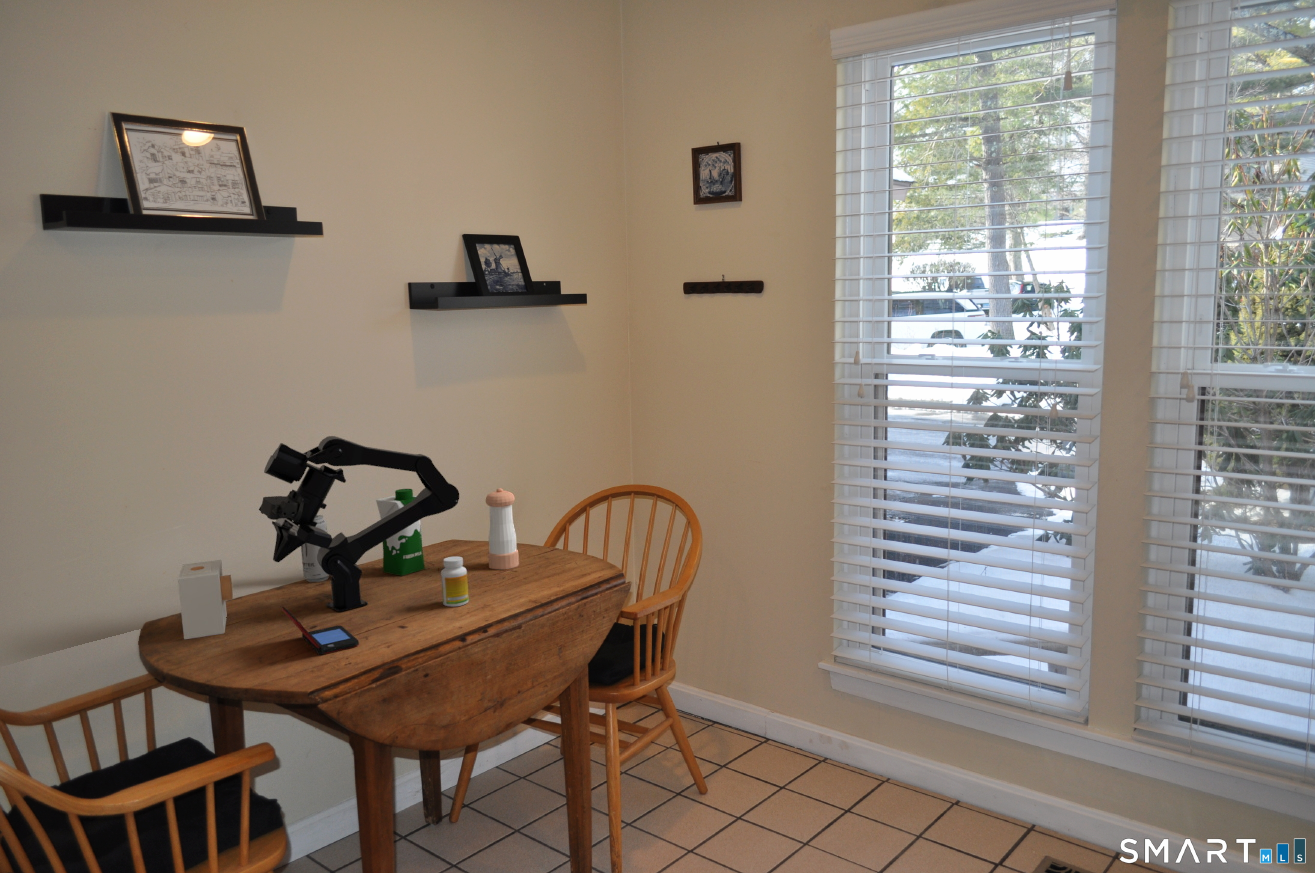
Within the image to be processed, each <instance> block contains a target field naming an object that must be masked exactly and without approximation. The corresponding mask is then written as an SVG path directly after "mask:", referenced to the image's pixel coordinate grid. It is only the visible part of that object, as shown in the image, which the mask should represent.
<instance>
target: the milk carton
mask: <svg viewBox="0 0 1315 873" xmlns="http://www.w3.org/2000/svg"><path fill="white" fill-rule="evenodd" d="M394 493H395V495H391V496H387V497H382V498H377V499H375V502H376V506H377V510H378V512H379V513H378V514H379V518H380V520H381V519H383V518H384V517H386V516H388V515H390V514H391V513H393V512H395V511H396V510H398V509H400V508H402V507H403V506H405V505H407V504H408V503H410V502H412V501H413V500H414V499H415V498H416V497H417V495H414V489H412V488H402V489H396V490H394ZM422 536H423V535H422V524H421V519H420V520H419V521H417V522H415V523H414V524H412V525H410V526H408V527H407V528H405V529H403V530H402V531H400V532H398V533H397V534H395V535H393V536H392V537H390V538H388V539H387V540H385V541H383V542H382V551H383V552H382V553H383V554H382V557H383V558H382V572H383V573H385V574H391V575H394V576H395V575H396V576H400V577H402V576H407V575H410V574H412V573H416V572H419V571H423V570H425V568H426V565H425V557H424V551H423V550H424V549H423V540H422V539H423V538H422Z"/></svg>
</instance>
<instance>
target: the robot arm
mask: <svg viewBox="0 0 1315 873" xmlns="http://www.w3.org/2000/svg"><path fill="white" fill-rule="evenodd" d="M310 463H312V464H310ZM313 464H314V465H313ZM325 464H327V465H329V466H332V467H340V468H337V469H335V468H332V467H329V466H327V465H325ZM315 465H321V466H320V467H318V466H315ZM352 466H354V467H355V466H372V467H378V468H385V469H393V470H399V471H407V472H412V473H416V475H417V477H418V479H419V480H420V482H421V484H422V485H423V486H424V488H423V489H422V490H421V491H420V492H419V493H417V495H416V496H417V497H416V498H415V499H414V500H413V501H412V502H410V503H408V504H407V505H405V506H403V507H402V508H400V509H398V510H396V511H395V512H393V513H391V514H390V515H388V516H386V517H384V518H383V519H381V518H380V520H378V521H376V522H374V523H373V524H371V525H370V526H367V527H366V528H364V529H363V530H360V531H359V532H358V533H355V534H353V535H350V536H346V535H345V534H344V533H343V532H339V533H337V534H336V535H335V536H334V537H332V535H331V534H330V533H329V532H328V531H327V532H325V531H324V530H322V529H320V528H316V525H317V522H316V521H314V519H315V517H316V515H318V513H319V512H320V510H321V509H323V510H325V509H326V507H327V504H326V503H325V500H326V498H327V496H328V494H329V493H330V491H331V489H332V487H333V485H334V484H335V481H338V482H341V483H346V482H347V479H346V478H345V475H344V470H343V469H342V468H341V467H352ZM307 468H308V469H307ZM263 471H264V472H263V473H264V474H266V475H269V476H271V477H273V478H276V479H278V480H281V481H283V482H285V483H288V484H290V485H291V484H293V483H294V482H300V484H299V486H298V488H297V490H295V489H292V490H290V491H289V493H288V494H287V495H286V496H284V495H277V496H276V495H275V496H274V495H273V496H263V498H262V502H261V505H260V506H259V509H258V510H259V511H260V513H261V514H262V515H265V516H266V517H267V518H268V519H269V520H272V521H271V524H272V525H273V527H274V529H275V532H276V535H275V536H276V538H275V545H274V552H273V557H272V560H273V561H274V562H275V563H280V562H281V561H283V560H284V559H286V558H287V557H288V556H289V555H291V554H292V553H293V552H295V551H296V550H297V549H299V548H301V546H302V545H303V544H305V543H308V544H312V545H315V546H319V547H321V548H320V549H319V551H318V554H317V561H318V563H319V565H320V566H321V568H322V569H323V570H324V571H325V573H327V574H329V576H330V586H331V599H332V602H327V603H325V604H326V607H327V608H330V609H331V610H334V611H336V612H340V613H341V612H345V611H347V610H348V611H349V610H353V609H355V608H359V607H363V606H367V605H369V604H368V603H369V602H368V601H366V600H363V599H362V598H361V597H362V596H361V586H360V580H361V578H362V574H363V570H362V569H361V568H360V567H359V565H357V563H358V562H359V561H360V560H361V558H362V557H363V556H364V555H365V554H366V553H367V552H369V551H370V550H372V549H373V548H375V547H377V546H378V545H379V544H383V541H385V540H387V539H388V538H390V537H392V536H393V535H395V534H397V533H398V532H400V531H402V530H403V529H405V528H407V527H408V526H410V525H412V524H414V523H415V522H417V521H419V520H420V521H421V520H422V519H423V518H427V517H430V516H435V515H438V514H441V513H444V512H447V511H448V510H449V511H450V510H451V509H454V508H455V507H456V506H457V505H458V504H459V500H460V492H459V488H457V487H456V486H455V485H454V484H453V483H450V482H448V480H447V479H446V478H445V477H444V475H443V474H442V473H441V472H440V471H439V469H438V468H437V467H436V465H435V464H434V463H433V460H432V459H431V458H430V457H429V456H427V455H424V454H422V453H418V454H417V453H416V454H415V453H408V452H403V451H402V452H401V451H396V450H389V449H385V448H377V447H372V446H371V447H370V446H366V445H365V446H364V445H361V444H359V443H357V442H353V441H350V440H348V439H344V438H342V437H339V436H335V435H328V436H326V437H323V439H321V441H320V442H319V444H318V445H317V446H315V447H313V448H310V450H307V451H305V452H301V451H298V450H296V449H293V448H291V447H290V446H288V445H287V444H285V443H282V442H281V443H279V445H278V447H277V448H276V449H275V450H274V452H273V453H272V455H270V457H269V458H268V461H267V463H266V465H265V468H264V470H263ZM301 479H302V480H301ZM273 520H274V521H273ZM299 525H300V526H299Z"/></svg>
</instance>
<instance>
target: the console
mask: <svg viewBox="0 0 1315 873" xmlns="http://www.w3.org/2000/svg"><path fill="white" fill-rule="evenodd" d="M223 572H224V571H223V565H222V560H221V559H214V560H209V561H208V560H207V561H201V562H193V563H191V562H190V563H185V564H182V567H181V570H180V572H179V575H178V577H177V586H178V596H179V601H180V602H179V603H180V612H181V622H182V632H183V640H188V639H189V640H190V639H195V638H196V639H198V638H202V637H209V636H215V635H222V634H225V631H226V626H227V618H226V617H228V615H227V605H226V604H227V602H226V601H222V595H221V585H220V576H224V575H223V574H224V573H223Z"/></svg>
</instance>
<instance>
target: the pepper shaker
mask: <svg viewBox="0 0 1315 873" xmlns="http://www.w3.org/2000/svg"><path fill="white" fill-rule="evenodd" d="M515 500H516V498H515V495H514V494H513V493H512V492H510V491H508V490H504V489H503V488H501V487H498V488H497V489H496V490H495V491H492V492H489V493H488V494H487V495H486V497H485V504H486V505H487V507H488V506H489V508H488V509H489V510H488V511H489V533H488V547H489V551H488V553H487V554H488V555H487V556H488V568H490V569H492V570H509V569H514V568H517V567H518V566H520V558H519V557H520V556H519V550H518V548H517V533H516V530H515V526H514V517H513V516H514V515H513V505H514V503H515Z"/></svg>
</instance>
